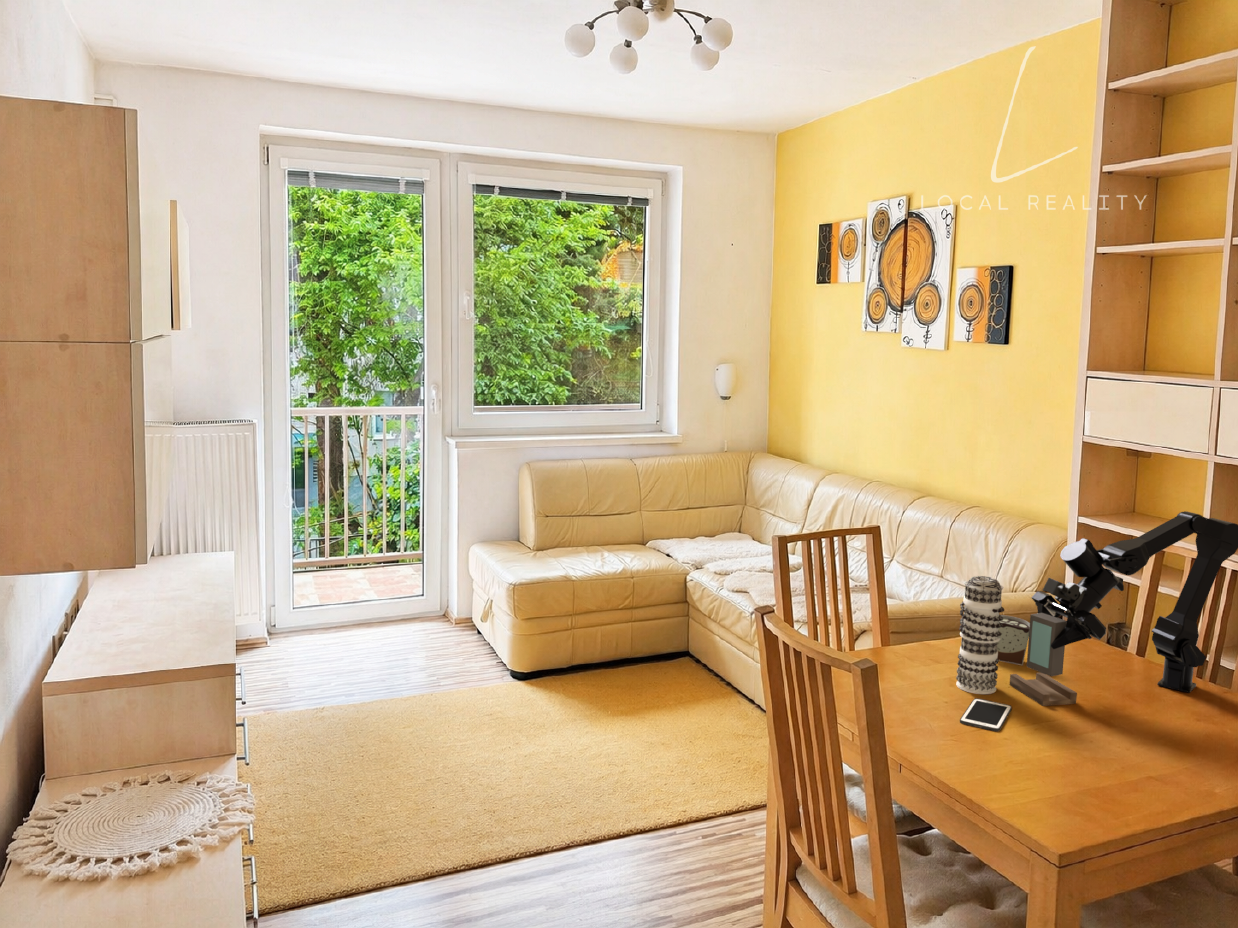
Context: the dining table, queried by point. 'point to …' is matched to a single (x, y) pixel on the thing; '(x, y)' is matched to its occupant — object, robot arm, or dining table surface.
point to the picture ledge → (1044, 690)
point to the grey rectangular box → (1045, 644)
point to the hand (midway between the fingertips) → (1041, 641)
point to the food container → (1013, 640)
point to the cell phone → (986, 714)
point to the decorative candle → (979, 635)
